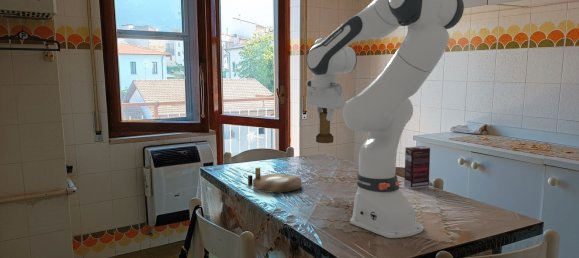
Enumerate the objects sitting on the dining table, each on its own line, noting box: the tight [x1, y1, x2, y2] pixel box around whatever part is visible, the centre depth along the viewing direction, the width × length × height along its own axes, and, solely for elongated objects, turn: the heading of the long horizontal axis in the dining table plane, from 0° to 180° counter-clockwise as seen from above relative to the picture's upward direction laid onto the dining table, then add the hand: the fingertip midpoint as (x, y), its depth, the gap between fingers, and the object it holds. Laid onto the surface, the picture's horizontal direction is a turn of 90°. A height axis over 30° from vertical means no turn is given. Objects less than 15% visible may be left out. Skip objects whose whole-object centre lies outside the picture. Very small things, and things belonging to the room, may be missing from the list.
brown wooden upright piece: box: [315, 108, 334, 144], centre depth 154 cm, size 7×6×18 cm
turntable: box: [252, 167, 302, 193], centre depth 162 cm, size 19×19×6 cm
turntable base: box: [247, 174, 254, 187], centre depth 163 cm, size 15×15×4 cm
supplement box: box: [403, 145, 431, 190], centre depth 162 cm, size 9×5×16 cm, turn 109°
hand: (324, 119), depth 155 cm, fingers closed on brown wooden upright piece, 4 cm apart
